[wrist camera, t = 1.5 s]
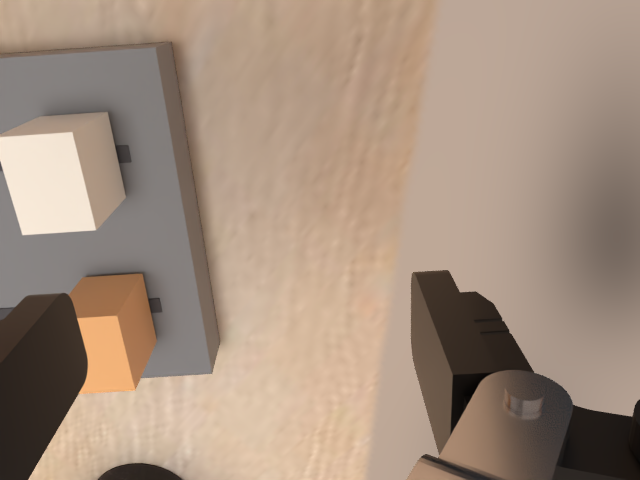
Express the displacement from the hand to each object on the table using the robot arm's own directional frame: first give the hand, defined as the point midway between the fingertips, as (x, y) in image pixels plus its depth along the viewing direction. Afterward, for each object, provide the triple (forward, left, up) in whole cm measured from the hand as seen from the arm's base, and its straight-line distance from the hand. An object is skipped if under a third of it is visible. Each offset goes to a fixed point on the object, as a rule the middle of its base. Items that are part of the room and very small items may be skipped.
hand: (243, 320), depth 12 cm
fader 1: (0, -9, -15) cm, 17 cm away
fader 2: (+8, -9, -15) cm, 19 cm away
